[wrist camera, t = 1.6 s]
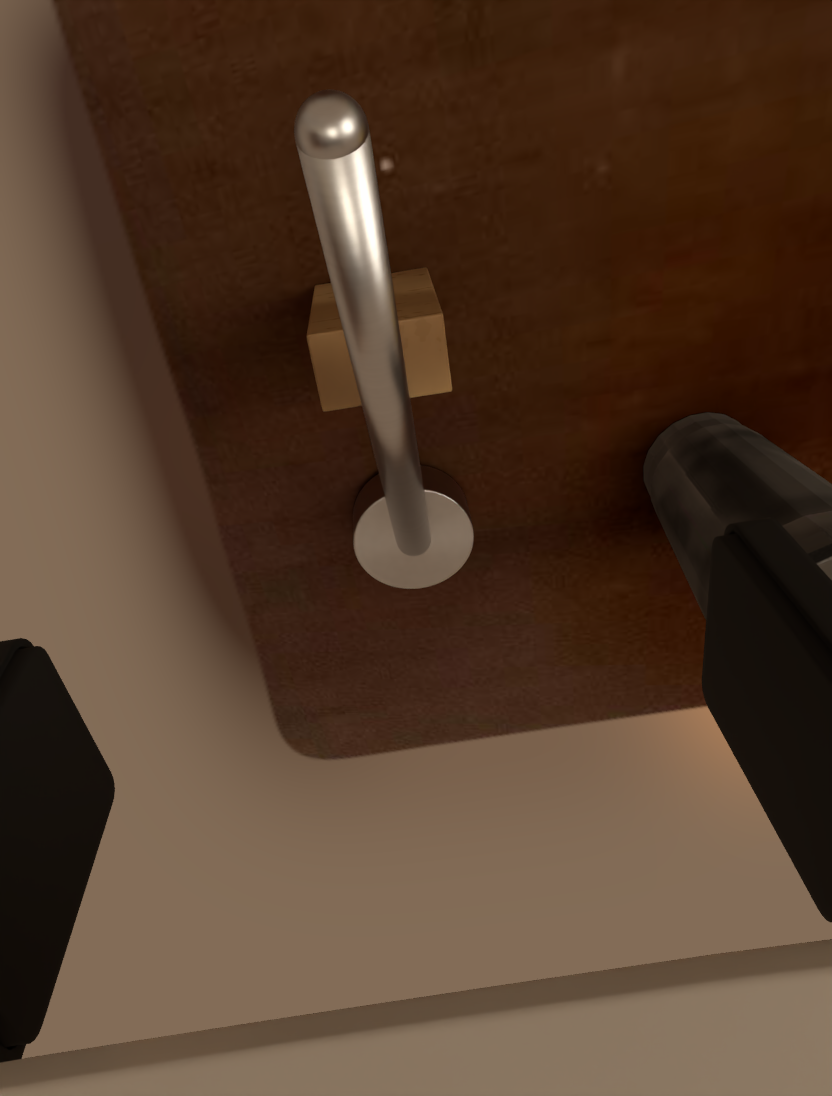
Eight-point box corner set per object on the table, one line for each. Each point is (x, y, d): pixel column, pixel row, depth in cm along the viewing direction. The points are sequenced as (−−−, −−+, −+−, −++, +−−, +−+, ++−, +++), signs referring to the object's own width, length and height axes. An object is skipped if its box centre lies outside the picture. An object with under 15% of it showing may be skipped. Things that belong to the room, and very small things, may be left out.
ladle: (473, 551, 34) (521, 764, 24) (363, 568, 34) (370, 786, 24) (413, 43, 23) (459, 71, 13) (253, 70, 23) (188, 116, 14)
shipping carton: (435, 333, 28) (452, 392, 24) (328, 351, 28) (322, 412, 24) (426, 266, 27) (443, 313, 22) (314, 284, 27) (305, 335, 22)
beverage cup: (778, 352, 30) (1333, 744, 13) (791, 507, 34) (1232, 965, 17) (593, 414, 31) (886, 857, 14) (626, 558, 34) (888, 1042, 18)
